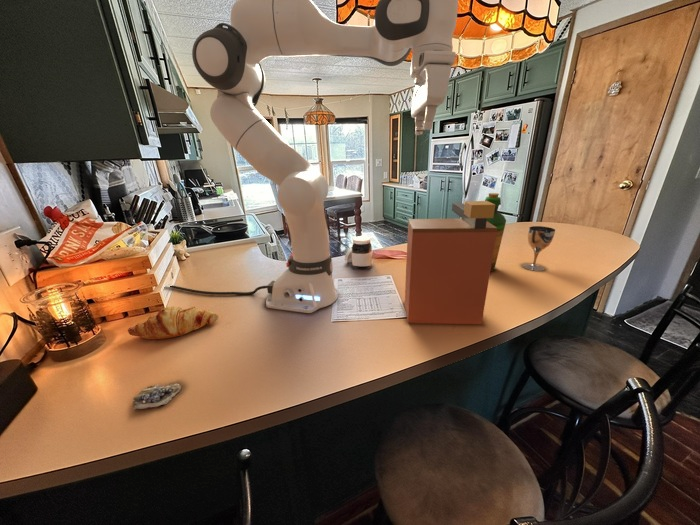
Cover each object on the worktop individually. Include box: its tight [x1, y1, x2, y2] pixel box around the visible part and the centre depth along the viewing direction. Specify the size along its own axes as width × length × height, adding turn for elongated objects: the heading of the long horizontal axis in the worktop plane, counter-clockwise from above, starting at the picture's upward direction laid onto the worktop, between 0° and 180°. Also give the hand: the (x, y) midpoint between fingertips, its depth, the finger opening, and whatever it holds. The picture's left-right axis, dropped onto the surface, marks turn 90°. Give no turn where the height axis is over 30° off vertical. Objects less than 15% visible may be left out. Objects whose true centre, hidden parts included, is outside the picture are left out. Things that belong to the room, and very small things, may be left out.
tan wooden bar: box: [451, 200, 495, 229], centre depth 72 cm, size 5×21×5 cm, turn 175°
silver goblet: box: [522, 225, 556, 272], centre depth 103 cm, size 8×8×15 cm
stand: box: [404, 217, 497, 325], centre depth 73 cm, size 19×10×26 cm, turn 85°
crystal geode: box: [131, 383, 182, 410], centre depth 54 cm, size 7×8×2 cm
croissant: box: [127, 306, 219, 340], centre depth 74 cm, size 21×10×8 cm, turn 111°
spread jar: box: [344, 235, 373, 270], centre depth 112 cm, size 12×11×12 cm
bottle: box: [484, 192, 507, 272], centre depth 101 cm, size 11×11×28 cm
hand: (422, 132), depth 69 cm, fingers open, 8 cm apart
